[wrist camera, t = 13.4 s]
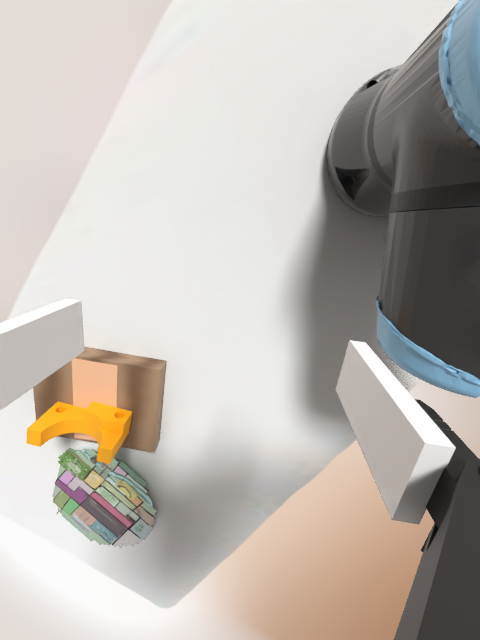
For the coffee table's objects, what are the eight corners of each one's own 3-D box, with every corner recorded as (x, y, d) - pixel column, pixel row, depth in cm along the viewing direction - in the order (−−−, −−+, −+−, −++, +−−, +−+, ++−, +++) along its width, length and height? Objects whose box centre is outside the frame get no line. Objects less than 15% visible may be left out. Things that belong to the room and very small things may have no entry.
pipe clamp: (132, 411, 45) (113, 441, 39) (128, 432, 46) (109, 464, 40) (58, 392, 44) (27, 418, 38) (57, 414, 46) (26, 443, 40)
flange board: (166, 360, 45) (160, 370, 42) (159, 439, 51) (153, 453, 48) (43, 339, 45) (28, 348, 42) (49, 420, 50) (36, 433, 47)
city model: (62, 416, 53) (34, 439, 47) (176, 464, 52) (162, 493, 46) (50, 504, 61) (25, 533, 56) (148, 547, 60) (133, 581, 54)
